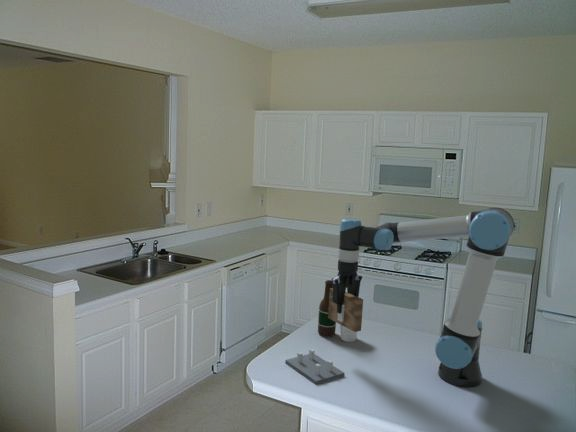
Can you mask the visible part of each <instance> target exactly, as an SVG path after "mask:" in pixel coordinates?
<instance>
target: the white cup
mask: <svg viewBox="0 0 576 432" xmlns="http://www.w3.org/2000/svg"><path fill="white" fill-rule="evenodd" d="M339 325H340V324H339ZM357 336H358V332H354V331H352V330H350V329H348V328H346V327H344V326H342V325H340V339H341V340H342V341H344V342H347V343H353V342H355V341H357Z"/></svg>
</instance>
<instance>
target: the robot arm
mask: <svg viewBox="0 0 576 432" xmlns="http://www.w3.org/2000/svg"><path fill="white" fill-rule="evenodd" d="M514 229H515V221H514V218H513V215H511V213H510V212H509V211H507V210H505V209H503V208H501V207H490V208H486V209H482V210H481V209H480V210H477V211H470V212H469V213H468V215H458V216H448V217H447V216H446V217H438V218H429V219H428V218H426V219H418V220H417V219H416V220H410V221H401V222H399V221H398V222H385V223H383V224H380V225H378V226H376V227H372V226H364V225H362V221H361V220H360V219H358V218H343V219H341V222H340V229H339V247H338V260H337V270H338V271H337V272H338V273H337V275H336V277H331V281H332V283H333V303H335V304H337V313H338V318H337V320H338V321H340V322H343V321H344V307H345V305H343V301H344V296H345V292H347V293H350V294H352V295H354V296H357V297H359V296H360V295H359V294H360V288H361V282H362V279H363V276H362V275H360V274H358V273H357V272H358V270H359V259H360V247H363V248H368V249H369V248H370V249H375V250H379V251H389V250H391V249H392V246H393V244H395V243H405V242H415V241H416V242H419V241H420V242H421V241H430V240H431V241H432V240H442V239H455V238H467V242H466V249H467V250H468V252H469V254H468V257H467V260H466V264H465V267H464V270H463V272H462V273H463V274H462V277H461V280H460V284H459V288H458V290H457V294H456V298H455V301H454V304H453V308H452V311H451V314H450V315H449V316H448V318H447V319H445V320H444V322H443V326H442V329H441V332H440V335H439V338H438V339H437V341H436V343H435V348H434V351H435V355H436V358H437V359H438V360H439V362H440V364H439V366H438V370H437V375H438V376H439V377H440V379H442V380H443V381H444V382H446V383H448V384H451V385H454V386H458V387H464V388H473V387H477V386H479V385H481V384H482V379H483V374H482V371H481V365H480V361H479V360H480V359H479V358H480V350H481V338H482V331H483V322H482V320H480V317H481V314H482V311H483V307H484V304H485V301H486V298H487V294H488V291H489V287H490V285H491V281H492V278H493V275H494V272H495V267H496V264H497V261H498V260H499V259H502V258H504V256H505V252H506V250H507V247H508V243H509V240H510V237H511V236H512V235H513V232H514ZM346 290H347V291H346Z"/></svg>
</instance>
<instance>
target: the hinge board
mask: <svg viewBox="0 0 576 432" xmlns="http://www.w3.org/2000/svg"><path fill="white" fill-rule="evenodd" d="M308 351H309V354H304V355H303V353H302V352H301V351H299V352H297V353H296V354H297V356H296V357H292V358H289V359H288V358H287V359H285V364H286V365H287V366H289V367H290V368H291V369H293V370H295V371H296V372H297V373H298V374H300V375H302V376H303V377H305V378H306V379H307V380H309V381H310V382H311V383H312V384H314V385H319V384H322V383H324V382H328V381H332V380H335V379H339V378H343V377H345V372H344V371H342V370H341V369H340V368H337V367H336V366H334V365H333V364H334V361H332V360H331V359H329V360H325V359H323V358H322V357H320V356H319V355H317V354H315V350H314V349H313V348H311V349H309V350H308Z"/></svg>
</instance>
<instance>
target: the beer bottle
mask: <svg viewBox="0 0 576 432" xmlns="http://www.w3.org/2000/svg"><path fill="white" fill-rule="evenodd" d="M324 284H325V286H324V295H323V298H322V300H321V301H320V303H319V306H318V321H317V332H318V335H319V336H320V337H324V336H325V338H326V337H328V338H330V337H333V336H335V334H336V326H337V323H336V322H335V321H333V320H331V319H329V318H328V310H329V294H330V288H333V283H332V280H325V281H324Z"/></svg>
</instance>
